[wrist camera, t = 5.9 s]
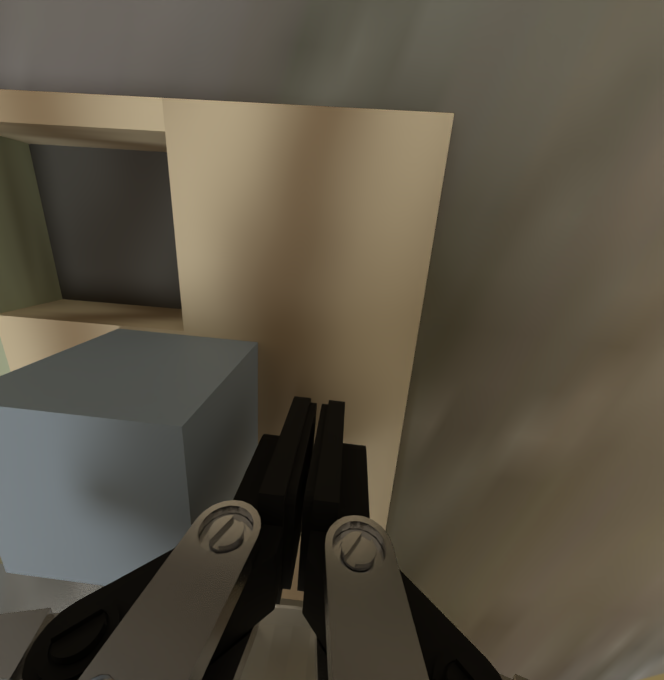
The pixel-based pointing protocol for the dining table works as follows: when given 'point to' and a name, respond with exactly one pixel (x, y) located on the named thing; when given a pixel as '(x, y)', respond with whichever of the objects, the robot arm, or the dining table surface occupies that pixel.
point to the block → (120, 449)
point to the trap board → (228, 243)
